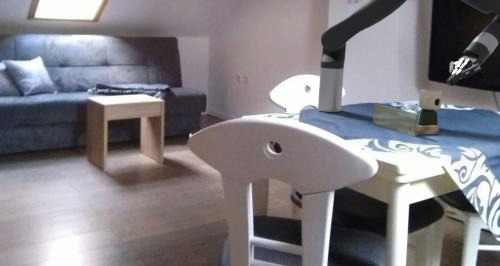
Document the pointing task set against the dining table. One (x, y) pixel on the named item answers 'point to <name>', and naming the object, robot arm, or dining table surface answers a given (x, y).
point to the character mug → (429, 106)
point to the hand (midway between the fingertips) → (449, 84)
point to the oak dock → (401, 121)
